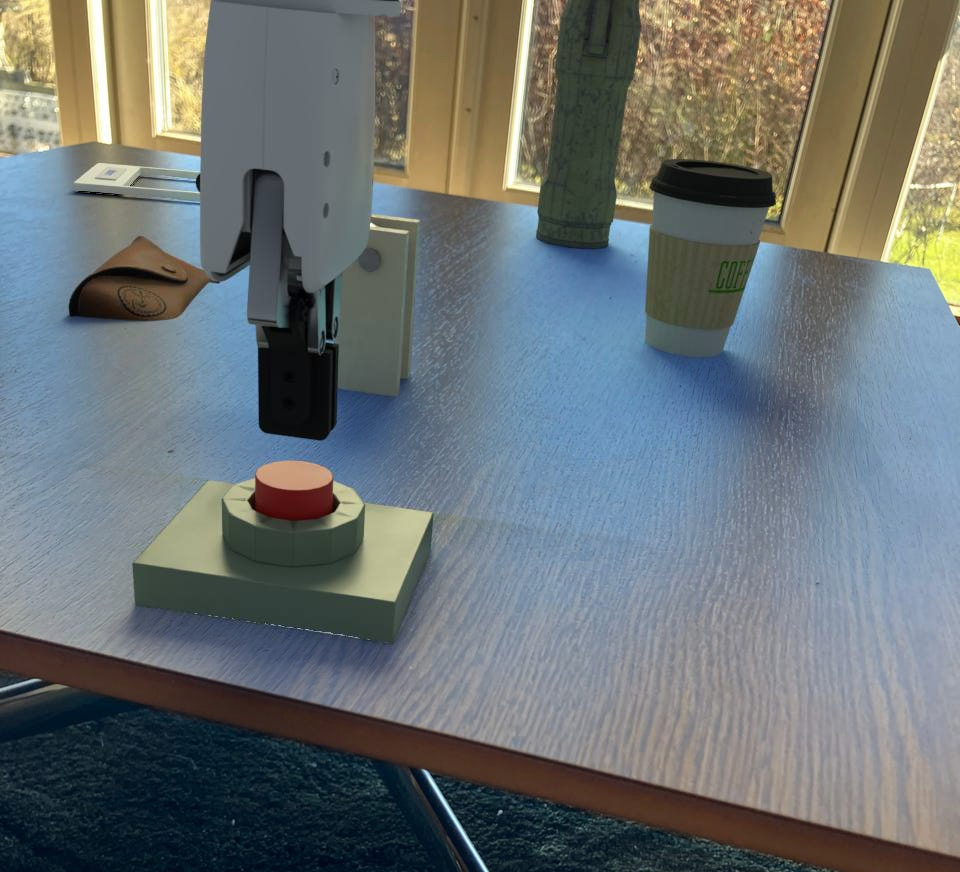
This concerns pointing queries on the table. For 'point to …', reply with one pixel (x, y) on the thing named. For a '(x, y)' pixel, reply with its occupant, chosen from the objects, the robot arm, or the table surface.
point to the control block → (287, 563)
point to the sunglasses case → (138, 286)
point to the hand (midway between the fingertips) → (298, 430)
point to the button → (293, 490)
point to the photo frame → (123, 176)
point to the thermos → (588, 121)
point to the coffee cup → (701, 251)
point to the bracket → (379, 309)
